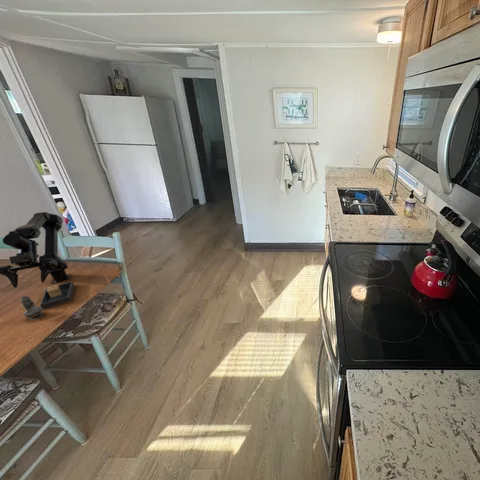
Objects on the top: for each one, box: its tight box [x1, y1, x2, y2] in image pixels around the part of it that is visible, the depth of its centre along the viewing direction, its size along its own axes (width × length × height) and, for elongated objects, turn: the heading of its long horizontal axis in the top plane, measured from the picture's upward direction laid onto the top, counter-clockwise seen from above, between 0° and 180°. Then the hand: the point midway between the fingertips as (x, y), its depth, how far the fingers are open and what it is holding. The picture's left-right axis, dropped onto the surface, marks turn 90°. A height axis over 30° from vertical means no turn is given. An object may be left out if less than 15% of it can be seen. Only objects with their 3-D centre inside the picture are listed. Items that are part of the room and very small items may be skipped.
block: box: [46, 284, 62, 298], centre depth 131 cm, size 4×4×4 cm
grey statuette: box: [19, 295, 44, 321], centre depth 116 cm, size 6×6×12 cm
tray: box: [39, 281, 75, 310], centre depth 130 cm, size 15×10×3 cm, turn 35°
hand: (29, 284), depth 118 cm, fingers open, 9 cm apart
